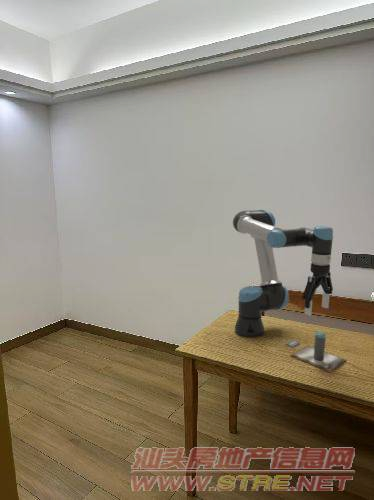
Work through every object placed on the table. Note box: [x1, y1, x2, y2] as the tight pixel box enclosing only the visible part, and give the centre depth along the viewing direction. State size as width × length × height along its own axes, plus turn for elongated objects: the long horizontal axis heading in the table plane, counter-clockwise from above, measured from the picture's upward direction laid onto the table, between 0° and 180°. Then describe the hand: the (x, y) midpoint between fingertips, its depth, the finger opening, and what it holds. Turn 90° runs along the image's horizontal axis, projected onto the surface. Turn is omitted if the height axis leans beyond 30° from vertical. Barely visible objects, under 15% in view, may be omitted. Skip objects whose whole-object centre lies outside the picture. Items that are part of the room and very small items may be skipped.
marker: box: [313, 331, 327, 363], centre depth 140 cm, size 4×4×12 cm
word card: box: [284, 339, 301, 348], centre depth 158 cm, size 4×6×1 cm, turn 130°
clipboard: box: [290, 345, 347, 373], centre depth 144 cm, size 18×14×2 cm
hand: (316, 311), depth 144 cm, fingers open, 13 cm apart
